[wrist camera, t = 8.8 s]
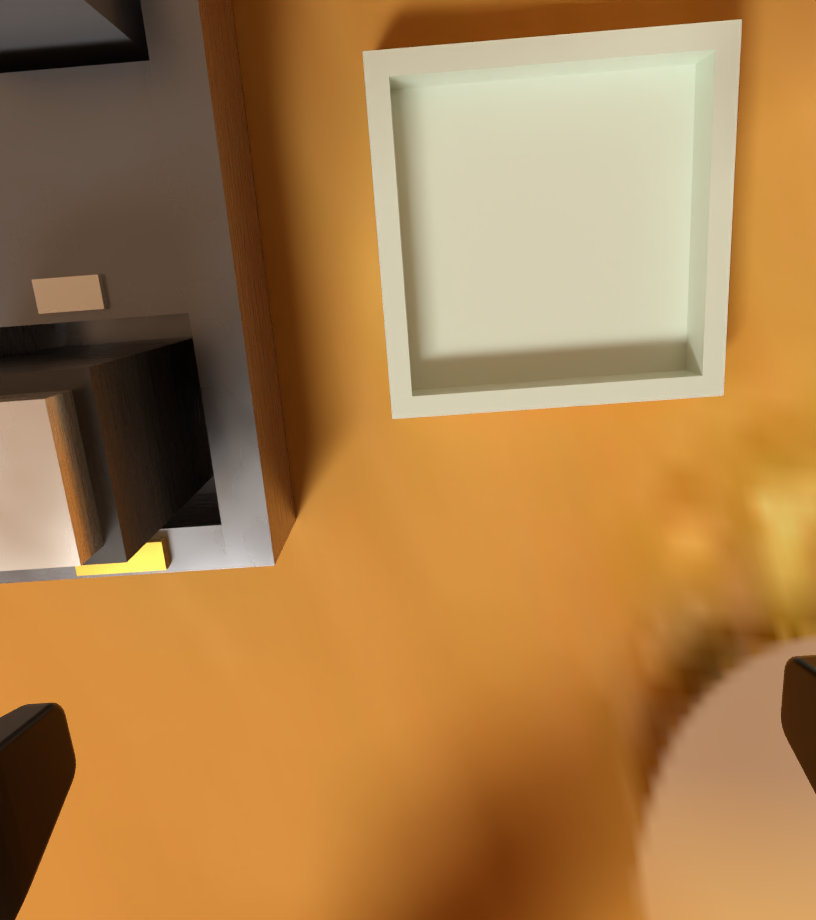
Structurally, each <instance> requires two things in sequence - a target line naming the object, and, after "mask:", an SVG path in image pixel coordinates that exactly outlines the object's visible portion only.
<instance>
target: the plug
mask: <svg viewBox="0 0 816 920" xmlns="http://www.w3.org/2000/svg"><path fill="white" fill-rule="evenodd" d="M138 61H150V59H149V53H148V46H147V40H146V34H145V27H144V21H143V14H142V8H141V1H140V0H0V73H8V72H20V71H32V70H44V69H56V68H67V67H79V66H91V65H103V64H115V63H126V62H138Z"/></svg>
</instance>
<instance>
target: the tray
mask: <svg viewBox="0 0 816 920" xmlns="http://www.w3.org/2000/svg"><path fill="white" fill-rule="evenodd" d="M741 31H742V19H738V20H726V21H715V22H703V23H691V24H679V25H667V26H655V27H644V28H632V29H620V30H608V31H596V32H584V33H573V34H561V35H549V36H537V37H525V38H514V39H502V40H490V41H478V42H466V43H454V44H443V45H431V46H419V47H407V48H395V49H383V50H372V51H363V64H364V76H365V88H366V101H367V113H368V125H369V138H370V150H371V162H372V175H373V187H374V199H375V212H376V224H377V236H378V248H379V261H380V273H381V285H382V298H383V310H384V322H385V335H386V347H387V359H388V372H389V384H390V396H391V409H392V419H401V418H415V417H429V416H443V415H458V414H472V413H486V412H500V411H514V410H528V409H542V408H556V407H570V406H584V405H598V404H612V403H627V402H641V401H655V400H669V399H683V398H697V397H711V396H724V376H725V356H726V336H727V315H728V295H729V275H730V254H731V234H732V214H733V193H734V173H735V153H736V133H737V112H738V92H739V72H740V51H741Z"/></svg>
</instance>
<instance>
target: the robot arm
mask: <svg viewBox="0 0 816 920" xmlns="http://www.w3.org/2000/svg"><path fill="white" fill-rule="evenodd" d="M781 722H782V727H783V730H784V733H785V736H786V738H787V740H788V742H789V744H790V746H791V748H792V749H793V751H794V753H795V755H796V757H797V759H798V761H799V763H800V764H801V767H802V768H803V770H804V772H805V774H806V776H807V778H808V780H809V782H810V784H811V786H812V788H813V789H814V791H815V793H816V655H809V656H795V657H792V658H790V659H789V660H788V661H787V663H786V665H785V670H784V682H783V694H782V707H781ZM75 768H76V759H75V753H74V749H73V745H72V741H71V737H70V732H69V728H68V724H67V720H66V716H65V713H64V710H63V709H62V707H61V706H60V705H58V704H56V703H41V704H27V705H23V706H21V707H19V708H17V709H15V710H13V711H12V712H10V713H8V714H6V715H4V716H2V717H0V920H15V919H16V917H17V915H18V912H19V910H20V908H21V906H22V904H23V902H24V900H25V897H26V895H27V893H28V891H29V888H30V886H31V884H32V881H33V879H34V876H35V874H36V871H37V869H38V866H39V864H40V861H41V859H42V856H43V854H44V851H45V849H46V846H47V844H48V841H49V839H50V836H51V834H52V831H53V829H54V826H55V824H56V821H57V819H58V816H59V814H60V811H61V809H62V806H63V804H64V801H65V799H66V796H67V794H68V791H69V789H70V786H71V784H72V781H73V778H74V774H75Z"/></svg>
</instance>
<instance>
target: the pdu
mask: <svg viewBox="0 0 816 920" xmlns="http://www.w3.org/2000/svg"><path fill="white" fill-rule="evenodd" d="M140 1H141V8H142V14H143V21H144V27H145V34H146V40H147V46H148V53H149V59H150V61H138V62H126V63H115V64H103V65H91V66H79V67H67V68H56V69H44V70H32V71H20V72H8V73H0V583H15V582H31V581H46V580H61V579H76V578H91V577H106V576H122V575H137V574H152V573H167V572H182V571H197V570H213V569H228V568H243V567H258V566H273V565H275V563H276V561H277V559H278V557H279V555H280V553H281V551H282V549H283V546H284V544H285V542H286V540H287V538H288V536H289V534H290V532H291V530H292V528H293V525H294V523H295V521H296V516H295V508H294V500H293V492H292V484H291V476H290V468H289V459H288V451H287V443H286V435H285V427H284V419H283V411H282V403H281V395H280V387H279V379H278V371H277V363H276V355H275V347H274V339H273V331H272V323H271V314H270V306H269V298H268V290H267V282H266V274H265V266H264V258H263V250H262V242H261V234H260V226H259V218H258V210H257V202H256V194H255V186H254V178H253V169H252V161H251V153H250V145H249V137H248V129H247V121H246V113H245V105H244V97H243V89H242V81H241V73H240V65H239V57H238V49H237V41H236V32H235V24H234V16H233V8H232V0H140Z"/></svg>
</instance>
